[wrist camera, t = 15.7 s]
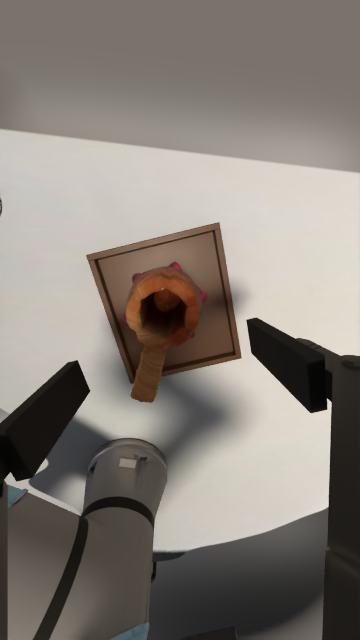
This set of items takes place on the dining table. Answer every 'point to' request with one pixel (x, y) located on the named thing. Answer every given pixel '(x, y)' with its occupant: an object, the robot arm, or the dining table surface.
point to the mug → (160, 320)
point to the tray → (207, 273)
